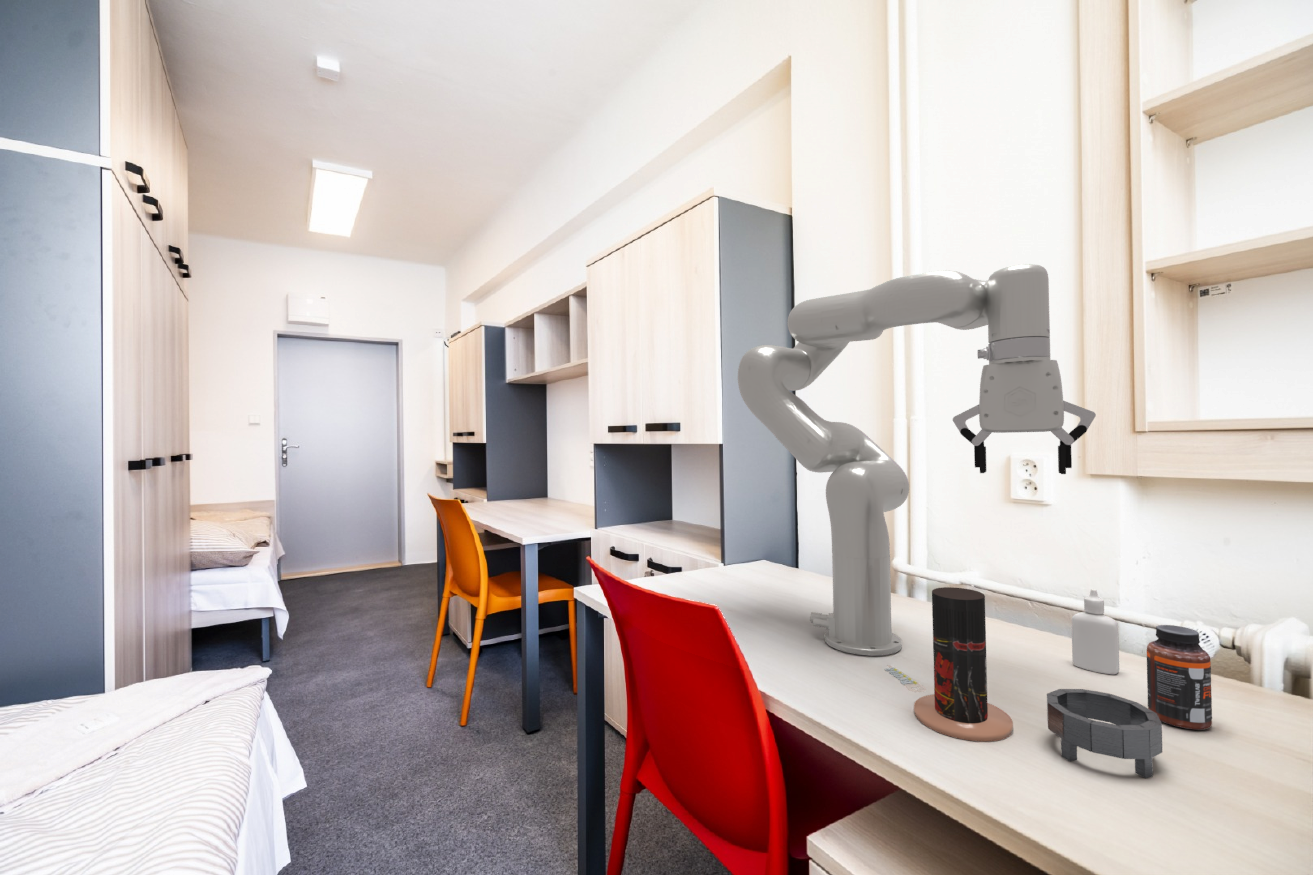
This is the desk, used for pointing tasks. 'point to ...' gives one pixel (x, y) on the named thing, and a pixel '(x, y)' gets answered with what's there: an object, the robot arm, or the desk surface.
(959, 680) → the deodorant
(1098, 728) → the ring stand
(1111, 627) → the eye dropper bottle
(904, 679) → the keychain
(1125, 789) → the desk surface
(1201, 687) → the supplement bottle
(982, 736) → the coaster
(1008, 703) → the desk surface
